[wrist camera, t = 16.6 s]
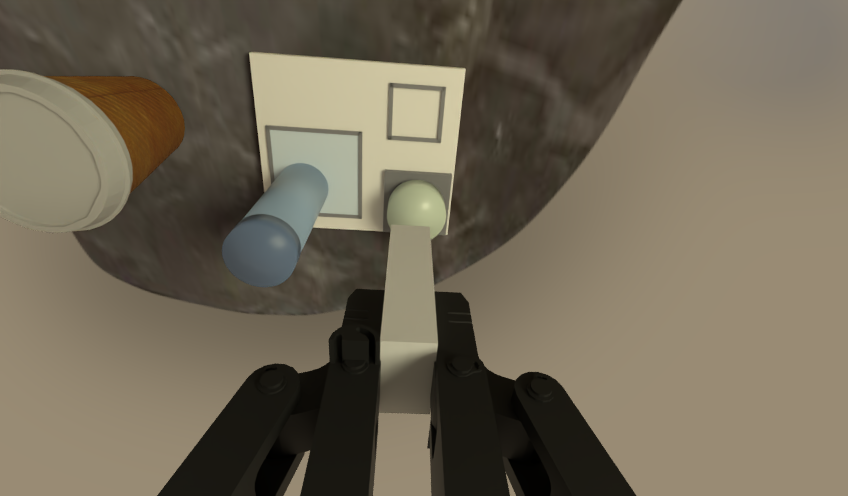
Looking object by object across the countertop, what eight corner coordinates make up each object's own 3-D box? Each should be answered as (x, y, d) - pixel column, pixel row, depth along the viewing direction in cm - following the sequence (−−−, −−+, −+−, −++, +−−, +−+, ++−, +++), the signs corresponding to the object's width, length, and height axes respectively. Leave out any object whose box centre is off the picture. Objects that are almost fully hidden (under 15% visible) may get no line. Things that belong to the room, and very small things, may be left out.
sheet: (252, 51, 32) (246, 53, 31) (464, 68, 33) (466, 69, 32) (270, 221, 39) (266, 227, 38) (446, 230, 40) (447, 237, 39)
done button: (389, 178, 35) (387, 186, 34) (447, 181, 36) (449, 190, 34) (387, 230, 38) (385, 241, 36) (441, 233, 38) (443, 244, 36)
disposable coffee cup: (134, 190, 37) (24, 260, 27) (51, 82, 33) (-118, 114, 23) (229, 151, 36) (152, 208, 25) (156, 32, 32) (27, 41, 21)
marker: (275, 160, 35) (217, 223, 25) (328, 164, 36) (292, 227, 25) (279, 208, 38) (227, 285, 27) (329, 211, 38) (297, 288, 27)
